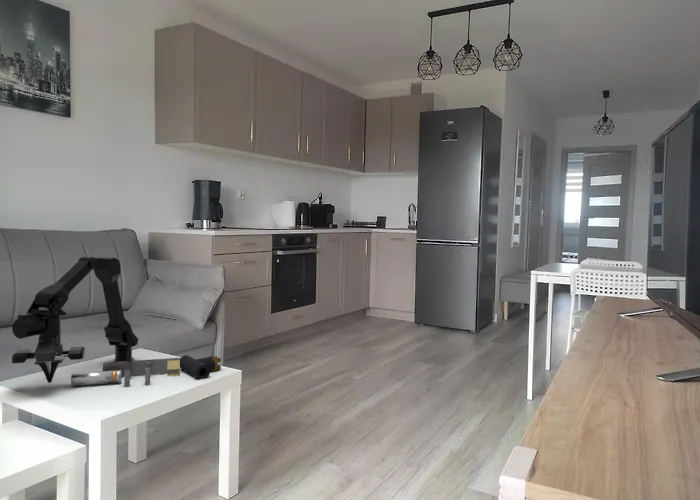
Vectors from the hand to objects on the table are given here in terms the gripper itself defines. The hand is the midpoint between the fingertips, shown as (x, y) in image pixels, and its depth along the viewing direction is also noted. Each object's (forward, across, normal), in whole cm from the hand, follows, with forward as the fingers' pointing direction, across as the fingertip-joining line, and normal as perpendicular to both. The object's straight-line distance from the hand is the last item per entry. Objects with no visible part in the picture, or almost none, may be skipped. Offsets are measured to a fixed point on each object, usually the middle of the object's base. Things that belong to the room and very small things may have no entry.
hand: (49, 382), depth 155 cm
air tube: (+2, +13, 0) cm, 13 cm away
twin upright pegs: (+2, +25, 0) cm, 25 cm away
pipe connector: (+2, +46, +5) cm, 46 cm away
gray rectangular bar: (+2, +26, +5) cm, 27 cm away
